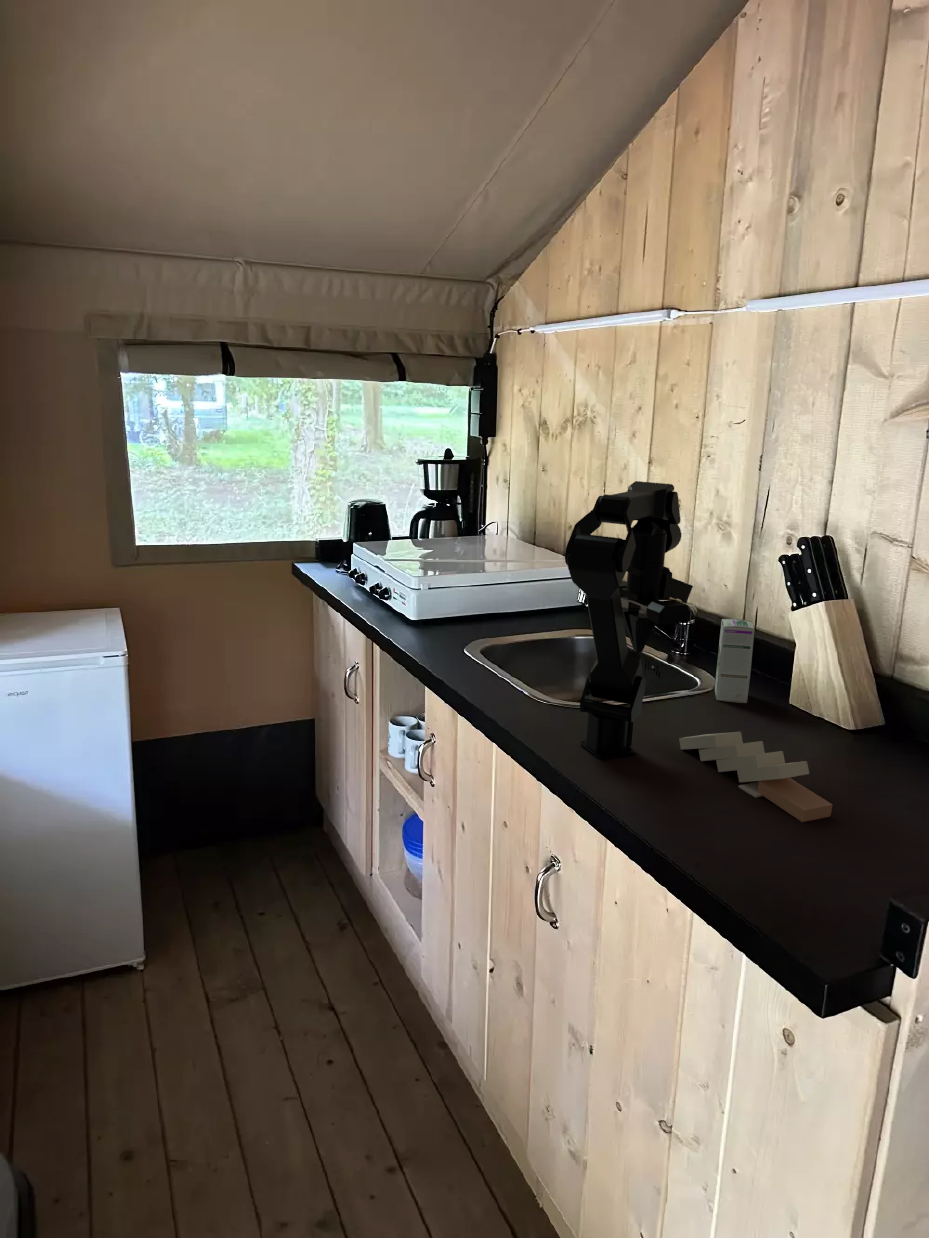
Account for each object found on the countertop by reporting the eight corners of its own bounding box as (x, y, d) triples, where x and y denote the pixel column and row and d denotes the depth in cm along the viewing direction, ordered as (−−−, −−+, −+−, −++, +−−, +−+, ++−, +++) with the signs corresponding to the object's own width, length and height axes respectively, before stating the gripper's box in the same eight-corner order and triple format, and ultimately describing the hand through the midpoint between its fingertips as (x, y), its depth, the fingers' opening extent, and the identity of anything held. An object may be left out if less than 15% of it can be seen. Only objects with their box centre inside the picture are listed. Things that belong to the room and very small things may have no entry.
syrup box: (747, 703, 167) (757, 628, 163) (714, 700, 168) (723, 625, 165) (744, 693, 173) (753, 620, 169) (712, 690, 174) (721, 617, 170)
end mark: (755, 797, 129) (755, 795, 129) (738, 787, 132) (738, 785, 132) (790, 790, 131) (790, 789, 131) (772, 780, 135) (772, 779, 134)
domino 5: (784, 786, 132) (830, 816, 124) (757, 791, 130) (802, 822, 122) (786, 775, 131) (832, 804, 123) (758, 780, 129) (804, 810, 122)
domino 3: (744, 767, 139) (785, 763, 131) (718, 771, 137) (757, 767, 129) (742, 755, 139) (782, 750, 131) (716, 760, 137) (755, 755, 129)
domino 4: (766, 777, 135) (809, 773, 127) (739, 782, 133) (781, 778, 125) (763, 765, 135) (806, 760, 127) (736, 770, 133) (778, 765, 125)
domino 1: (706, 745, 147) (742, 743, 139) (680, 749, 145) (716, 747, 137) (704, 734, 147) (740, 731, 139) (679, 738, 145) (714, 735, 137)
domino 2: (726, 757, 143) (764, 753, 135) (700, 761, 141) (737, 757, 133) (724, 745, 143) (762, 740, 135) (698, 749, 141) (735, 745, 133)
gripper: (723, 569, 142) (713, 663, 146) (653, 547, 159) (646, 633, 163) (665, 572, 138) (656, 670, 142) (599, 550, 154) (592, 638, 158)
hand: (638, 651), depth 151 cm, fingers closed
